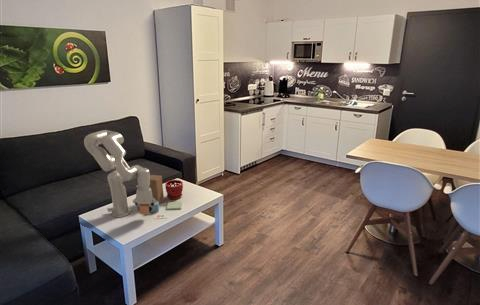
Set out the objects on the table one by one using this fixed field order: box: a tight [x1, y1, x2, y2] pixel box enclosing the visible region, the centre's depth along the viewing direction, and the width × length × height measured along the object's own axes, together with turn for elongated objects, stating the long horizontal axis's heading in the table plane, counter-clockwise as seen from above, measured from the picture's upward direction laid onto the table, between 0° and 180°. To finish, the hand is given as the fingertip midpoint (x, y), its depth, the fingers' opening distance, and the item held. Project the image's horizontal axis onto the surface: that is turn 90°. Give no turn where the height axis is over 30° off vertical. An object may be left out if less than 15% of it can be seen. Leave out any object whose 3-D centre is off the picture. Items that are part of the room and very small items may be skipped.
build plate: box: [166, 201, 183, 211], centre depth 229 cm, size 10×10×1 cm
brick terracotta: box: [139, 204, 151, 215], centre depth 210 cm, size 6×6×6 cm
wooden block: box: [150, 174, 165, 205], centre depth 233 cm, size 10×10×20 cm
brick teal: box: [150, 201, 160, 214], centre depth 222 cm, size 5×5×6 cm
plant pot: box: [164, 179, 184, 200], centre depth 242 cm, size 13×13×12 cm
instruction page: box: [153, 213, 168, 220], centre depth 215 cm, size 8×6×1 cm
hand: (145, 211), depth 210 cm, fingers closed on brick terracotta, 6 cm apart
